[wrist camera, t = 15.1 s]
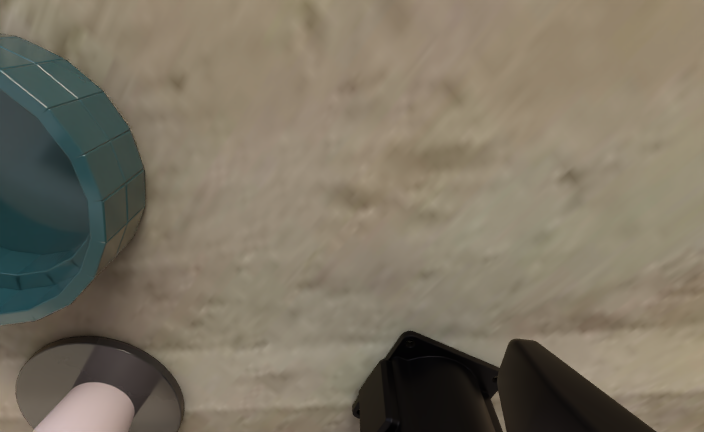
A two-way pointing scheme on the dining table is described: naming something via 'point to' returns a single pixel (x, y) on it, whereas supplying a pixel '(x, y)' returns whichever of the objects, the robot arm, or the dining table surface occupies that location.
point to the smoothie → (90, 411)
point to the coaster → (100, 381)
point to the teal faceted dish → (59, 182)
